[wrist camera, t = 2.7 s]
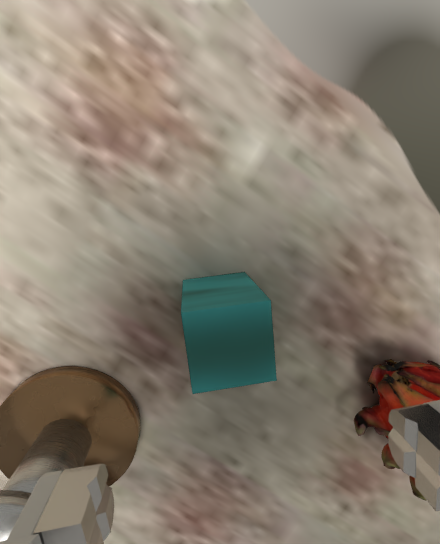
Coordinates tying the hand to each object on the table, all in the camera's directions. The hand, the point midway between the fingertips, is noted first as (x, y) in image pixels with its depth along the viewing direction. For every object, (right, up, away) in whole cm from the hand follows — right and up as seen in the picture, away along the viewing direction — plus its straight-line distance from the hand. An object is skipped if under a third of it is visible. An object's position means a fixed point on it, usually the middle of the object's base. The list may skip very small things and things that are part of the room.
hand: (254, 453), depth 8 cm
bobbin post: (-12, -7, +14) cm, 20 cm away
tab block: (-1, +3, +14) cm, 14 cm away
